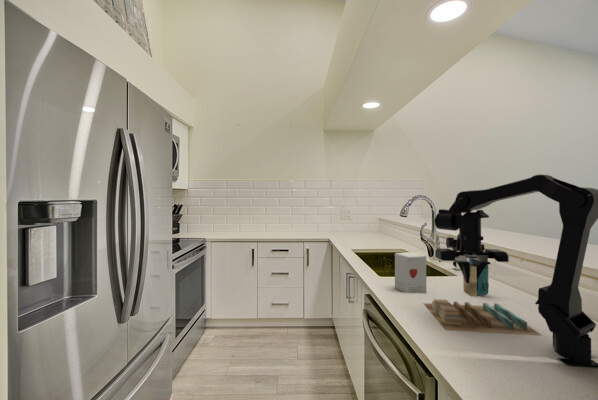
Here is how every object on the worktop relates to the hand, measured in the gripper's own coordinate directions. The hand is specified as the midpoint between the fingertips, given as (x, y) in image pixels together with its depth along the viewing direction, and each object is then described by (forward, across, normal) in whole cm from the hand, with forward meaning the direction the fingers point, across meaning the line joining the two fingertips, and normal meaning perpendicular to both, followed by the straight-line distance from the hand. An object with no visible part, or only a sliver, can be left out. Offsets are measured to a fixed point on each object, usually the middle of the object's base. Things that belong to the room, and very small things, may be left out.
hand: (470, 282), depth 84 cm
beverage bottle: (+12, -13, -23) cm, 29 cm away
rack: (+11, 0, 0) cm, 11 cm away
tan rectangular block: (+4, 0, 0) cm, 4 cm away
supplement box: (+12, +11, -27) cm, 31 cm away
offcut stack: (+10, +8, 0) cm, 13 cm away
